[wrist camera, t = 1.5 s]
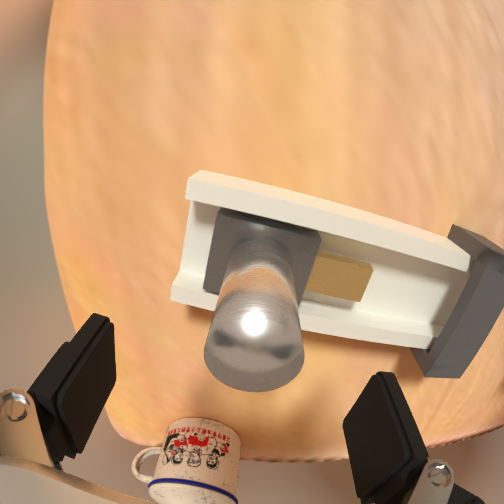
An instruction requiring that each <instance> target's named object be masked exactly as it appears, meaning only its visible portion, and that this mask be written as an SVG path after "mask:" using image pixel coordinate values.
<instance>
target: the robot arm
mask: <svg viewBox="0 0 504 504" xmlns="http://www.w3.org/2000/svg"><path fill="white" fill-rule="evenodd" d="M115 382H116V363H115V343H114V324H113V323H111V322H110V319H109V318H108V317H106V316H102V315H99V314H96V313H93V314H92V315H91V316H90V317H89V319H88V320H87V321H86V322H85V324H84V325H83V326H82V327H81V329H80V330H79V331H78V332H77V334H76V335H75V336H74V338H73V339H72V340H71V342H65V343H64V344H63V345H62V346H61V347H60V348H59V349H58V351H57V352H56V353H55V355H54V356H53V357H52V359H51V360H50V361H49V362H48V364H47V365H46V367H45V368H44V370H43V371H42V372H41V373H40V375H39V376H38V377H37V379H36V380H35V381H34V383H33V384H32V386H31V387H30V388H29V390H28V391H27V393H26V392H25V391H23V390H19V389H8V390H5V391H3V392H2V393H0V504H158V503H154V502H150V501H147V500H143V499H139V498H136V497H132V496H130V495H126V494H123V493H120V492H117V491H114V490H111V489H108V488H105V487H102V486H99V485H97V484H94V483H91V482H89V481H86V480H84V479H81V478H79V477H76V476H73V475H71V474H68V473H65V472H64V471H63V468H62V465H61V463H60V461H63V458H64V456H65V455H66V456H68V457H71V458H73V459H74V458H75V456H76V454H77V453H79V454H81V453H82V452H83V450H84V447H85V445H86V443H87V440H88V439H89V436H90V434H91V432H92V430H93V428H94V426H95V424H96V422H97V419H98V417H99V415H100V413H101V411H102V409H103V407H104V405H105V403H106V401H107V399H108V397H109V395H110V393H111V391H112V389H113V387H114V385H115ZM343 430H344V435H345V440H346V444H347V449H348V454H349V459H350V464H351V469H352V474H353V479H354V483H355V489H356V494H357V497H358V498H360V499H361V504H371V503H375V504H485V503H484V502H483V500H481V499H480V498H479V497H477V496H475V495H474V494H472V493H470V492H468V491H466V490H465V489H463V488H461V487H460V486H458V485H456V484H455V483H454V479H455V476H454V472H453V470H452V468H451V467H450V465H449V464H448V463H446V462H445V461H442V460H439V459H434V460H430V461H429V462H428V460H427V457H428V456H429V455H428V452H427V450H426V447H425V445H424V442H423V440H422V437H421V435H420V432H419V430H418V427H417V425H416V422H415V420H414V418H413V415H412V413H411V411H410V408H409V406H408V404H407V401H406V399H405V397H404V394H403V392H402V390H401V388H400V385H399V383H398V381H397V379H396V377H395V375H394V373H392V372H381V371H380V372H377V373H376V375H373V376H372V377H371V378H370V380H369V382H368V383H367V385H366V387H365V388H364V390H363V391H362V393H361V394H360V396H359V398H358V399H357V401H356V402H355V404H354V405H353V407H352V408H351V410H350V411H349V413H348V414H347V416H346V417H345V419H344V421H343Z"/></svg>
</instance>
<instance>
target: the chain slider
mask: <svg viewBox="0 0 504 504" xmlns="http://www.w3.org/2000/svg"><path fill="white" fill-rule="evenodd" d="M321 240H322V239H321V237H320V235H319V233H318V231H317V230H315V229H312V228H308V227H304V226H300V225H296V224H292V223H288V222H283V221H279V220H275V219H271V218H267V217H263V216H259V215H254V214H250V213H246V212H242V211H237V210H233V209H229V208H224V207H221V208H220V210H219V211H218V213H217V216H216V221H215V226H214V231H213V236H212V241H211V246H210V251H209V256H208V262H207V267H206V272H205V278H204V283H203V289H204V290H208V291H213V292H217V293H219V296H218V300H217V304H216V307H215V311H214V314H213V318H212V322H211V325H210V329H209V333H208V336H207V340H206V344H205V347H204V359H205V363H206V365H207V367H208V369H209V371H210V372H211V373H212V374H213V376H214V377H216V378H217V379H218V380H219V381H221V382H222V383H224V384H225V385H227V386H230V387H232V388H235V389H238V390H242V391H248V392H263V391H269V390H274V389H277V388H279V387H282V386H284V385H285V384H287V383H289V382H290V381H291V380H293V379H294V378H295V377H296V376H297V374H298V373H299V372H300V370H301V368H302V366H303V363H304V347H303V340H302V333H301V326H300V319H299V312H298V307H299V305H300V302H301V299H302V296H303V293H304V291H309V292H314V293H318V294H323V295H328V296H333V297H337V298H342V299H347V300H352V301H357V302H360V301H361V299H362V297H363V294H364V292H365V290H366V287H367V285H368V282H369V280H370V278H371V275H372V273H373V268H372V267H371V265H370V264H369V263H366V262H363V261H359V260H355V259H350V258H346V257H342V256H338V255H334V254H330V253H326V252H322V251H318V249H319V246H320V243H321Z"/></svg>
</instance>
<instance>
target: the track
mask: <svg viewBox="0 0 504 504" xmlns="http://www.w3.org/2000/svg"><path fill="white" fill-rule="evenodd" d="M185 199H188V200H191V203H190V209H189V215H188V221H187V227H186V233H185V239H184V246H183V252H182V259H181V266H180V271H179V273H178V275H177V277H176V278H175V280H174V282H173V284H172V288H171V296H170V300H171V301H175V302H179V303H183V304H187V305H191V306H195V307H199V308H203V309H207V310H211V311H215V307H216V304H217V300H218V296H219V293H217V292H213V291H208V290H204V289H203V283H204V278H205V272H206V267H207V262H208V256H209V251H210V246H211V241H212V236H213V231H214V226H215V221H216V216H217V213H218V211H219V210H220V208H221V207H224V208H229V209H233V210H237V211H242V212H246V213H250V214H254V215H259V216H263V217H267V218H271V219H275V220H279V221H283V222H288V223H292V224H296V225H300V226H304V227H308V228H312V229H315V230H317V231H318V233H319V235H320V237H321V239H322V240H321V243H320V246H319V249H318V251H322V252H326V253H330V254H334V255H338V256H342V257H346V258H350V259H355V260H359V261H363V262H366V263H369V264H370V265H371V267H372V268H373V273H372V275H371V278H370V280H369V282H368V285H367V287H366V290H365V292H364V294H363V297H362V299H361V301H360V302H357V301H352V300H347V299H342V298H337V297H333V296H328V295H323V294H318V293H314V292H309V291H304V293H303V296H302V299H301V302H300V305H299V307H298V312H299V319H300V326H301V330H305V331H311V332H316V333H322V334H327V335H333V336H339V337H345V338H351V339H357V340H364V341H370V342H377V343H384V344H391V345H398V346H406V347H410V349H411V351H412V353H413V355H414V357H415V359H416V361H417V363H418V365H419V366H420V368H421V370H422V372H423V374H424V376H425V377H433V378H460V377H461V376H462V374H463V373H464V372H465V370H466V369H467V367H468V366H469V364H470V363H471V361H472V360H473V358H474V357H475V355H476V354H477V352H478V350H479V349H480V347H481V346H482V344H483V342H484V341H485V339H486V337H487V336H488V334H489V332H490V331H491V329H492V327H493V325H494V324H495V322H496V320H497V318H498V317H499V315H500V313H501V311H502V309H503V307H504V250H503V249H502V248H500V247H499V246H497V245H496V244H494V243H493V242H491V241H490V240H488V239H487V238H485V237H483V236H481V235H479V234H476V233H474V232H471V231H469V230H466V229H464V228H461V227H459V226H456V225H454V224H453V225H452V228H451V230H450V233H449V236H448V238H446V237H443V236H440V235H437V234H434V233H431V232H428V231H425V230H422V229H420V228H417V227H414V226H411V225H407V224H404V223H401V222H398V221H395V220H392V219H389V218H386V217H382V216H379V215H376V214H373V213H369V212H366V211H363V210H359V209H356V208H353V207H349V206H346V205H342V204H339V203H335V202H332V201H328V200H324V199H321V198H317V197H313V196H310V195H306V194H302V193H298V192H294V191H291V190H287V189H283V188H279V187H275V186H271V185H266V184H262V183H258V182H254V181H250V180H245V179H241V178H237V177H232V176H228V175H223V174H218V173H214V172H209V171H204V170H200V171H199V172H197V173H195V174H194V175H192V176H191V177H189V178H188V182H187V188H186V193H185Z"/></svg>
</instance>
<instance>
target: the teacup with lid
mask: <svg viewBox="0 0 504 504" xmlns="http://www.w3.org/2000/svg"><path fill="white" fill-rule="evenodd" d="M240 450H241V440H240V438H239V436H238V434H237V433H236V432H235V431H234V430H232V429H231V428H230V427H228V426H226V425H224V424H222V423H219V422H217V421H213V420H210V419H205V418H182V419H179V420H176V421H174V422H172V423H171V424H170V425H169V427H168V429H167V431H166V435H165V438H164V442H163V445H162V447H149V448H146V449H144V450H142V451H141V452H140V453H138V454H137V455H136V457H135V458H134V460H133V462H132V471H133V473H134V475H135V476H136V477H137V478H138V479H139V480H141V481H142V482H145V483H149V485H148V488H149V493H150V495H151V497H152V498H153V499H154V500H155V501H157V502H158V503H160V504H238V500H237V499H236V493H237V492H236V491H237V482H238V471H239V461H240ZM152 455H160V456H159V459H158V463H157V466H156V469H155V473H154V476H146V475H143V474H141V473H140V472H139V468H140V465H141V464H142V462H143V461H144V460H145V459H146V458H148V457H149V456H152Z"/></svg>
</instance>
